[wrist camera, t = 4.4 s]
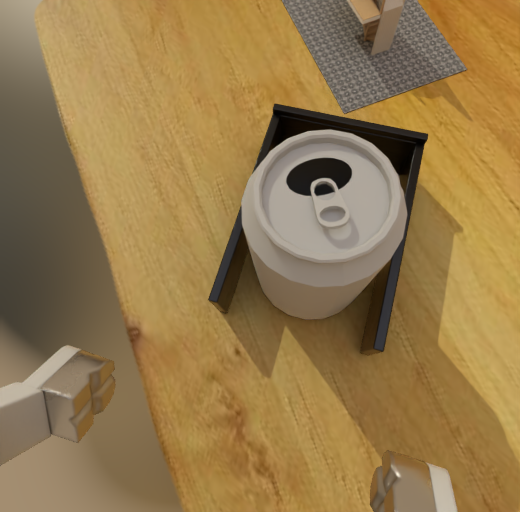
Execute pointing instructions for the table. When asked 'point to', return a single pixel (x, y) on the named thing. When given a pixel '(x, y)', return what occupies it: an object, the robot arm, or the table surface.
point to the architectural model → (373, 47)
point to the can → (322, 221)
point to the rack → (407, 167)
